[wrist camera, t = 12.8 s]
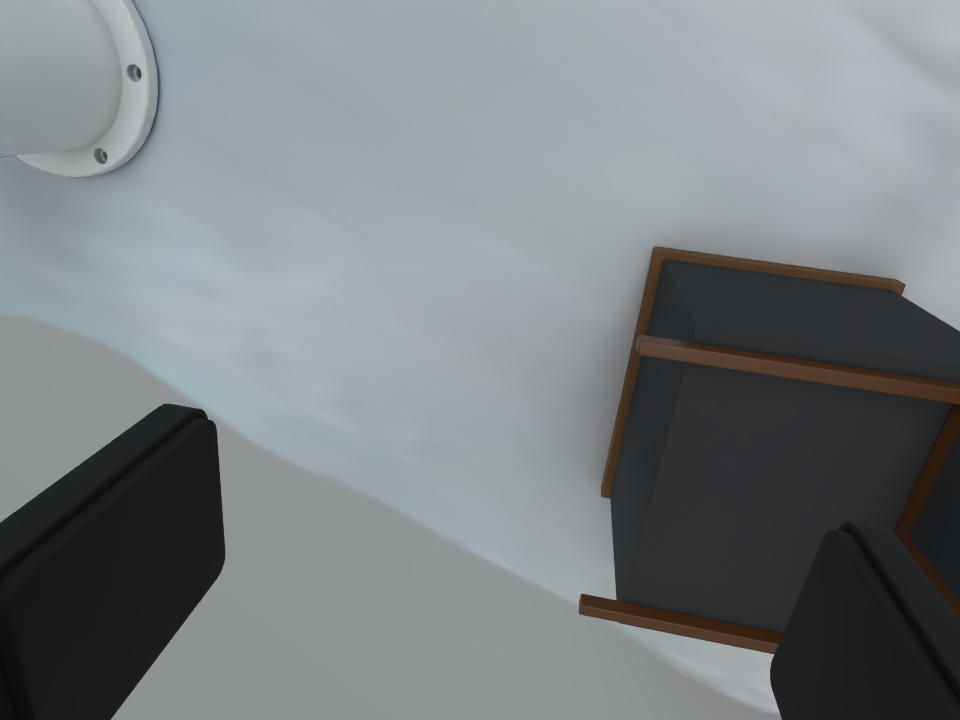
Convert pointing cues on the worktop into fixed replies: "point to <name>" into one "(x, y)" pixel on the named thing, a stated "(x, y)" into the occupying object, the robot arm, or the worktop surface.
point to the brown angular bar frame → (923, 525)
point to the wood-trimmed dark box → (763, 432)
